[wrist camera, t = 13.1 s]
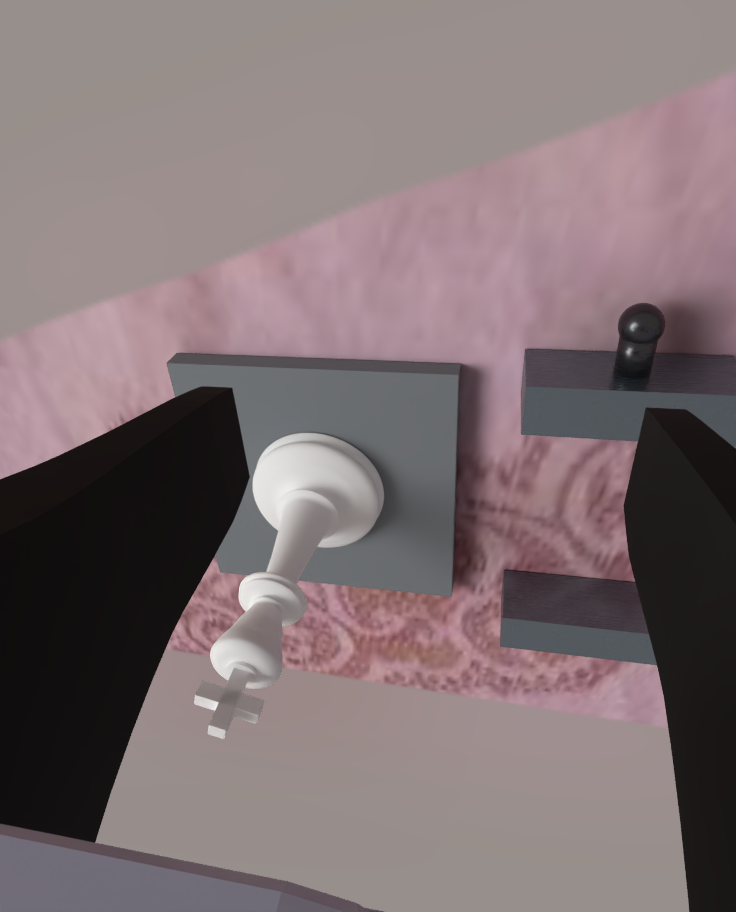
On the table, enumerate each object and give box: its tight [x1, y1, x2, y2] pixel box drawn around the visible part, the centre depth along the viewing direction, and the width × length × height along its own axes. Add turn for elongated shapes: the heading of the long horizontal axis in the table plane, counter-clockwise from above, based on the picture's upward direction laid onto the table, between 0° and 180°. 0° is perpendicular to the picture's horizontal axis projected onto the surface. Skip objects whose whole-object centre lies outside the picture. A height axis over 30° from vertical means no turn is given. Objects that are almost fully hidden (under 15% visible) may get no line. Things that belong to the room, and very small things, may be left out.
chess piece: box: [194, 433, 384, 739], centre depth 20 cm, size 5×5×10 cm
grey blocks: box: [500, 303, 736, 665], centre depth 21 cm, size 6×13×2 cm, turn 3°
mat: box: [167, 353, 460, 597], centre depth 24 cm, size 10×10×1 cm
